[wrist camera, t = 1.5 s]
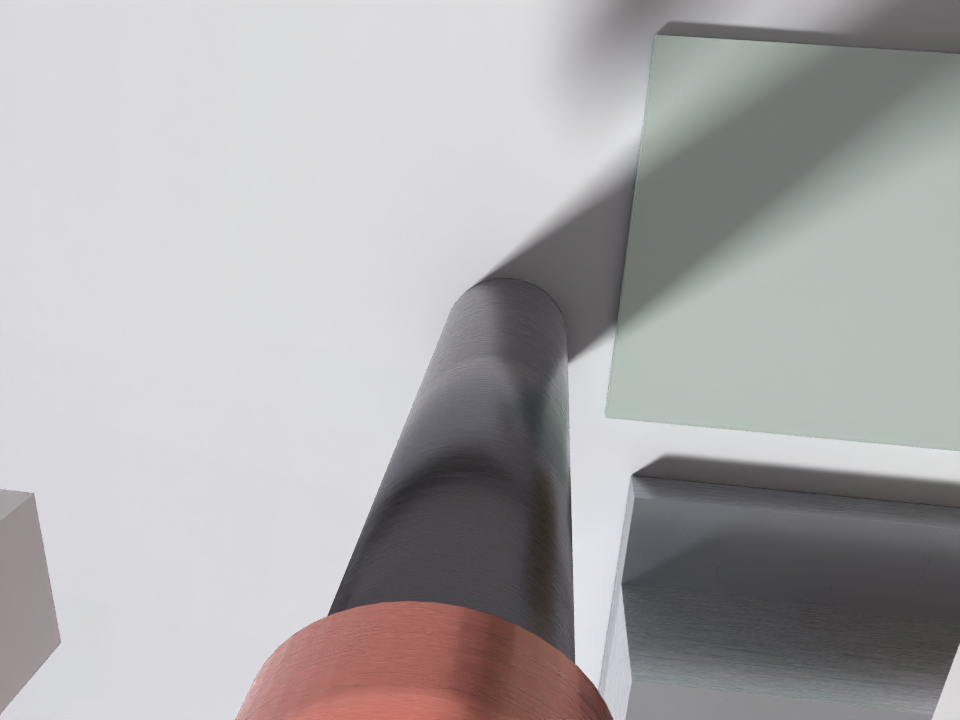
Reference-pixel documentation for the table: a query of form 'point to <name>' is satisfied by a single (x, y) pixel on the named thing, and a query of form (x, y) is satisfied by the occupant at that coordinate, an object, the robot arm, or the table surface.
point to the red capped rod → (458, 545)
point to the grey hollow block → (780, 606)
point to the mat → (795, 244)
